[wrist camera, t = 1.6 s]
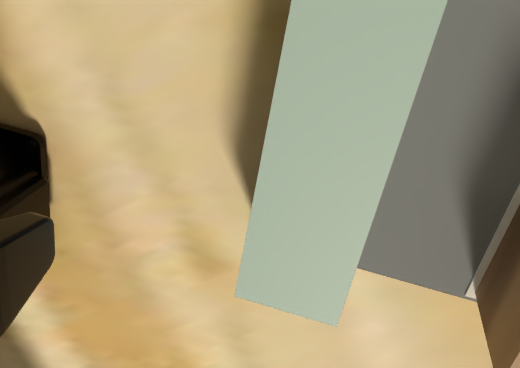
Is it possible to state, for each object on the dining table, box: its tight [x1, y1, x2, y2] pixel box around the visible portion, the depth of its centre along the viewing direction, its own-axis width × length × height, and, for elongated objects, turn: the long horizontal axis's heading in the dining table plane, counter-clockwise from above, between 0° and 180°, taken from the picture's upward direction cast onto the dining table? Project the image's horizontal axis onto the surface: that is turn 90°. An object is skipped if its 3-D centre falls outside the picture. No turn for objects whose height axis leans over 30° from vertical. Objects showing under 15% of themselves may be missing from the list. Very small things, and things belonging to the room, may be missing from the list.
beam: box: [235, 0, 448, 327], centre depth 17 cm, size 14×4×4 cm, turn 170°
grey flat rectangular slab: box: [357, 0, 520, 302], centre depth 18 cm, size 16×14×1 cm
